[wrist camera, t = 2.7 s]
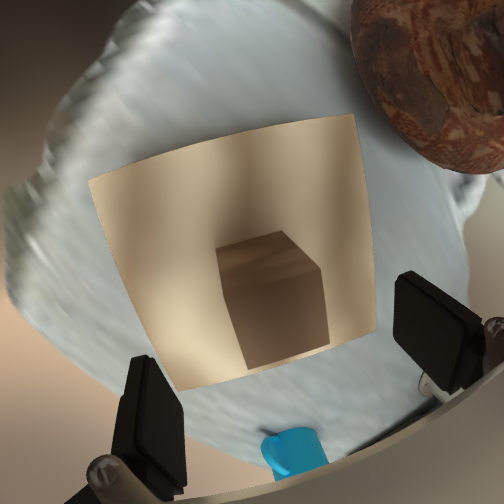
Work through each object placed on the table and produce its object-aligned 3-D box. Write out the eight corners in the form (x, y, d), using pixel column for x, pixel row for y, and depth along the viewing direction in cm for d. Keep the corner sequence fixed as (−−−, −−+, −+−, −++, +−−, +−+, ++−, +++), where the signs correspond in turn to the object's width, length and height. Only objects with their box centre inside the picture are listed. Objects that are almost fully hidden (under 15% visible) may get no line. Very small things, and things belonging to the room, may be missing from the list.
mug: (325, 434, 40) (343, 472, 32) (287, 458, 40) (300, 496, 33) (279, 412, 35) (295, 459, 28) (237, 440, 36) (246, 485, 29)
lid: (344, 115, 17) (417, 103, 10) (368, 322, 22) (417, 376, 16) (94, 178, 15) (34, 196, 9) (178, 381, 21) (177, 455, 14)
